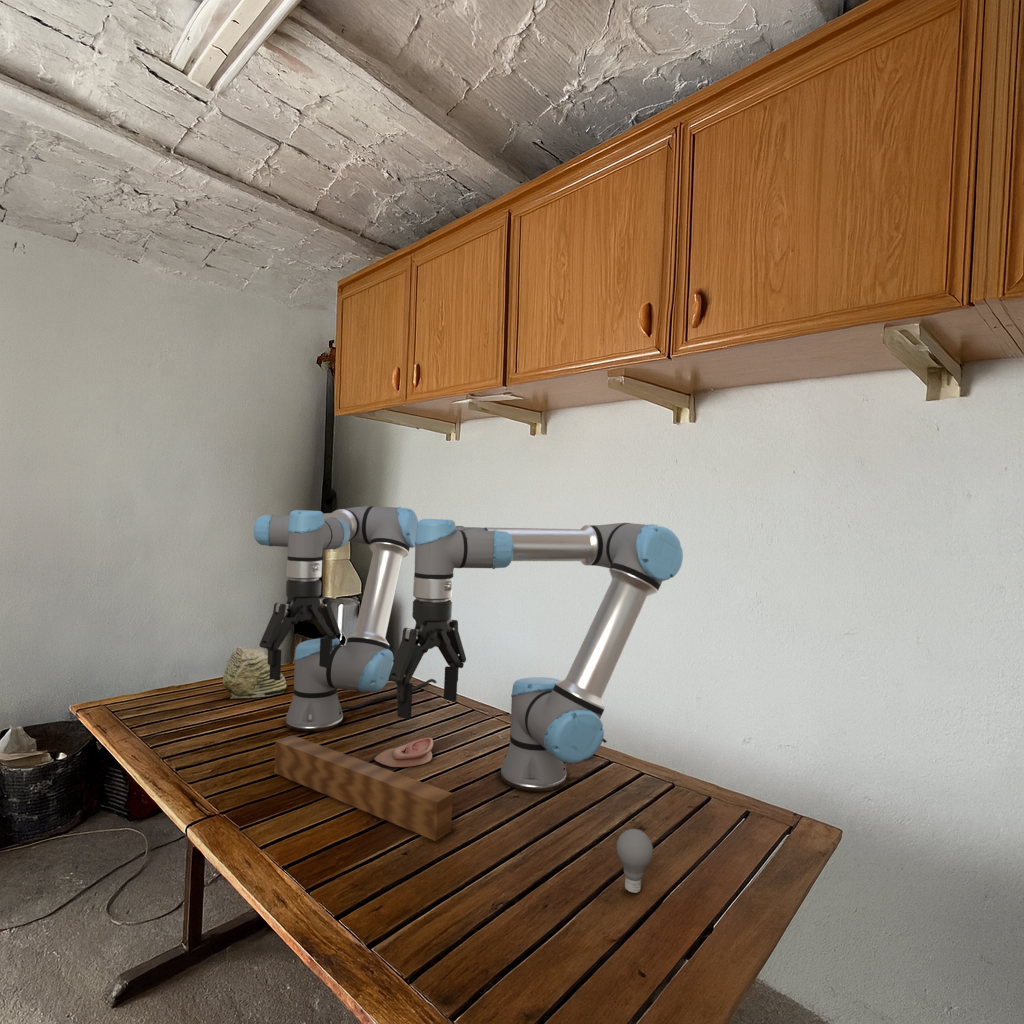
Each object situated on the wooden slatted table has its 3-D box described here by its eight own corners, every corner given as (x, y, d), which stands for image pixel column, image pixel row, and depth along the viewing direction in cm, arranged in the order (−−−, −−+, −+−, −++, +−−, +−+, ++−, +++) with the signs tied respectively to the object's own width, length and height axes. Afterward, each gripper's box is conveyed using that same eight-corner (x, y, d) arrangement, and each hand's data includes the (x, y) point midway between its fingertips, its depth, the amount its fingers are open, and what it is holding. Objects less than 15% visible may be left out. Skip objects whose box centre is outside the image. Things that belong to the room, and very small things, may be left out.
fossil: (218, 695, 195) (220, 647, 195) (278, 685, 208) (279, 640, 207) (228, 703, 189) (230, 653, 188) (289, 692, 201) (290, 645, 201)
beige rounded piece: (369, 747, 150) (388, 730, 162) (368, 764, 151) (387, 746, 162) (422, 754, 148) (438, 736, 159) (421, 771, 148) (437, 752, 159)
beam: (274, 773, 144) (275, 740, 144) (291, 766, 148) (292, 734, 148) (435, 841, 118) (437, 802, 118) (451, 830, 122) (452, 793, 122)
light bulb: (610, 879, 108) (613, 822, 108) (644, 879, 109) (647, 822, 109) (619, 902, 102) (622, 840, 102) (655, 901, 103) (658, 840, 103)
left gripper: (266, 585, 130) (262, 688, 130) (357, 576, 151) (353, 664, 151) (244, 581, 134) (240, 681, 134) (335, 573, 155) (332, 659, 155)
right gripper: (402, 609, 110) (398, 730, 110) (485, 594, 131) (481, 696, 131) (371, 603, 114) (367, 721, 114) (456, 590, 135) (452, 689, 135)
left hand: (300, 672), depth 143 cm, fingers open, 13 cm apart
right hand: (428, 708), depth 123 cm, fingers open, 13 cm apart
